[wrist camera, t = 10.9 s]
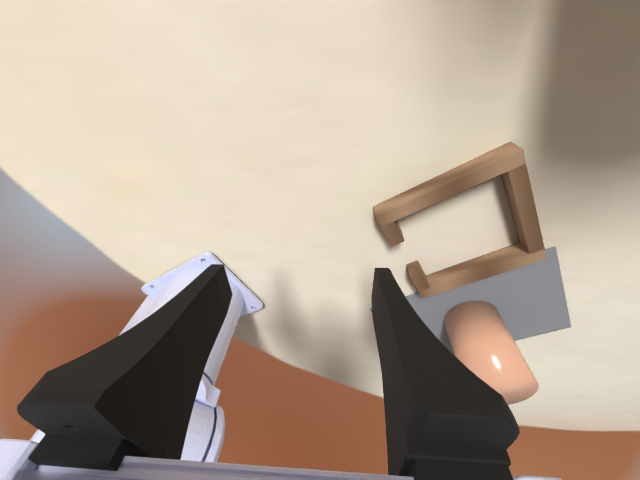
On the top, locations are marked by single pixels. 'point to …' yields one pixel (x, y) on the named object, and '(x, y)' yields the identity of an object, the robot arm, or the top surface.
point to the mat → (506, 300)
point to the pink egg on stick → (489, 349)
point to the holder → (461, 178)
